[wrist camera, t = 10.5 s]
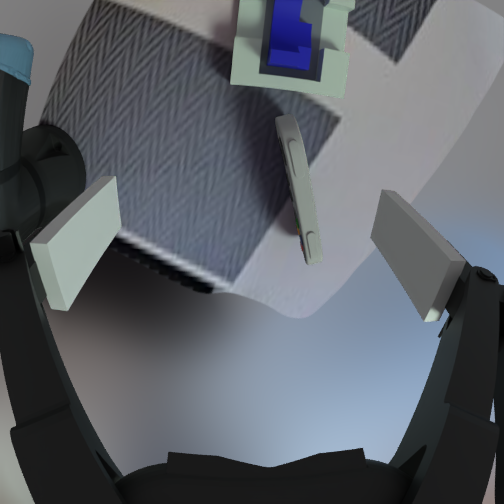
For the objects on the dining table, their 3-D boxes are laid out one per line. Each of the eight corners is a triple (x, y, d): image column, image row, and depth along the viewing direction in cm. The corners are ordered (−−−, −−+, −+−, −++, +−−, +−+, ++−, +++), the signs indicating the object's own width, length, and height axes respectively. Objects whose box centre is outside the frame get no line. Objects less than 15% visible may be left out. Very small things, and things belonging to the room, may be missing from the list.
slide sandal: (270, 114, 37) (276, 122, 30) (288, 110, 37) (298, 118, 29) (299, 246, 47) (308, 279, 39) (314, 242, 46) (326, 275, 39)
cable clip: (304, 70, 33) (314, 69, 28) (266, 65, 33) (270, 62, 27) (314, -16, 27) (325, -30, 22) (276, -22, 26) (282, -38, 21)
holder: (231, 84, 35) (230, 84, 32) (245, -39, 26) (245, -49, 23) (335, 97, 35) (343, 99, 32) (348, -23, 27) (357, -30, 24)
